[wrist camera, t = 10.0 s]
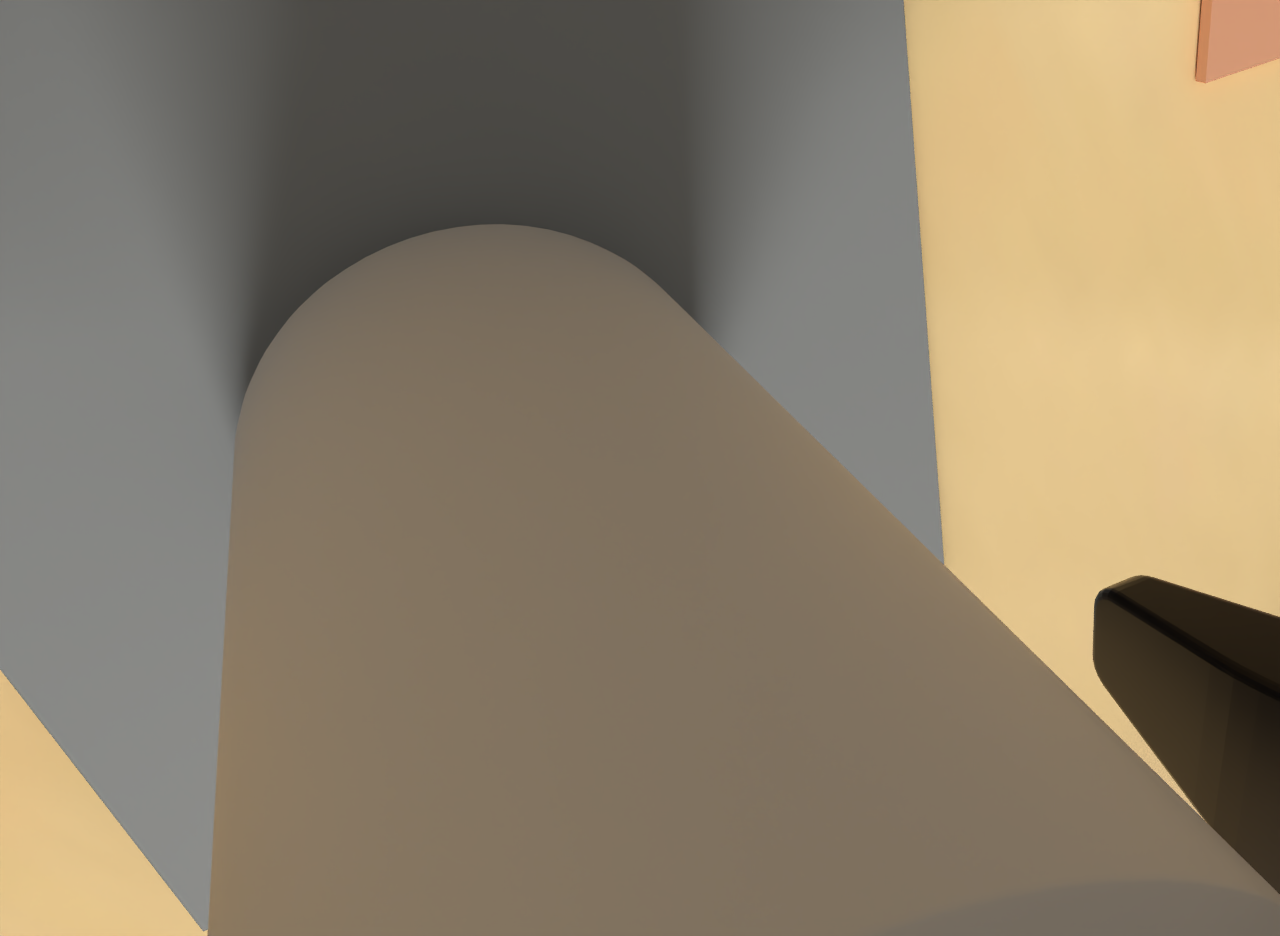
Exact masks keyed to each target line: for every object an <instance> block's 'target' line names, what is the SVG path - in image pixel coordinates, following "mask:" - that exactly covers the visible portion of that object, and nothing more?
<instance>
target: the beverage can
mask: <svg viewBox="0 0 1280 936" xmlns="http://www.w3.org/2000/svg"><path fill="white" fill-rule="evenodd" d="M208 936H1280V894H1279V893H1278V892H1277V891H1276V890H1275V889H1274V888H1273V887H1272V886H1271V885H1270V884H1269V883H1268V882H1267V881H1266V880H1265V879H1264V878H1263V877H1262V876H1261V875H1259V874H1258V873H1257V872H1256V871H1255V870H1254V869H1253V868H1252V867H1251V866H1250V865H1249V864H1248V863H1247V862H1246V861H1245V860H1244V859H1243V858H1242V857H1241V856H1240V855H1239V854H1238V853H1237V852H1236V851H1235V850H1234V849H1233V848H1232V847H1231V846H1230V845H1229V844H1228V843H1227V842H1226V841H1225V840H1224V839H1223V838H1222V837H1221V836H1220V835H1219V834H1218V833H1217V832H1216V831H1215V830H1214V829H1213V828H1212V827H1211V826H1210V825H1209V824H1208V823H1206V822H1205V821H1204V820H1203V819H1202V818H1201V817H1200V816H1199V815H1198V814H1197V813H1196V812H1195V811H1194V810H1193V809H1192V808H1191V807H1190V806H1189V805H1188V804H1187V803H1186V802H1185V801H1184V800H1183V799H1182V798H1181V797H1180V796H1179V795H1178V794H1177V793H1176V792H1175V791H1174V790H1173V789H1172V788H1171V787H1170V786H1169V785H1168V784H1167V783H1166V782H1165V781H1164V780H1163V779H1162V778H1161V777H1160V776H1159V775H1158V774H1157V773H1156V772H1155V771H1153V770H1152V769H1151V768H1150V767H1149V766H1148V765H1147V764H1146V763H1145V762H1144V761H1143V760H1142V759H1141V758H1140V757H1139V756H1138V755H1137V754H1136V753H1135V752H1134V751H1133V750H1132V749H1131V748H1130V747H1129V746H1128V745H1127V744H1126V743H1125V742H1124V741H1123V740H1122V739H1121V738H1120V737H1119V736H1118V735H1117V734H1116V733H1115V732H1114V731H1113V730H1112V729H1111V728H1110V727H1109V726H1108V725H1107V724H1106V723H1105V722H1104V721H1103V720H1102V719H1100V718H1099V717H1098V716H1097V715H1096V714H1095V713H1094V712H1093V711H1092V710H1091V709H1090V708H1089V707H1088V706H1087V705H1086V704H1085V703H1084V702H1083V701H1082V700H1081V699H1080V698H1079V697H1078V696H1077V695H1076V694H1075V693H1074V692H1073V691H1072V690H1071V689H1070V688H1069V687H1068V686H1067V685H1066V684H1065V683H1064V682H1063V681H1062V680H1061V679H1060V678H1059V677H1058V676H1057V675H1056V674H1055V673H1054V672H1053V671H1052V670H1051V669H1050V668H1049V667H1047V666H1046V665H1045V664H1044V663H1043V662H1042V661H1041V660H1040V659H1039V658H1038V657H1037V656H1036V655H1035V654H1034V653H1033V652H1032V651H1031V650H1030V649H1029V648H1028V647H1027V646H1026V645H1025V644H1024V643H1023V642H1022V641H1021V640H1020V639H1019V638H1018V637H1017V636H1016V635H1015V634H1014V633H1013V632H1012V631H1011V630H1010V629H1009V628H1008V627H1007V626H1006V625H1005V624H1004V623H1003V622H1002V621H1001V620H1000V619H999V618H998V617H997V616H996V615H994V614H993V613H992V612H991V611H990V610H989V609H988V608H987V607H986V606H985V605H984V604H983V603H982V602H981V601H980V600H979V599H978V598H977V597H976V596H975V595H974V594H973V593H972V592H971V591H970V590H969V589H968V588H967V587H966V586H965V585H964V584H963V583H962V582H961V581H960V580H959V579H958V578H957V577H956V576H955V575H954V574H953V573H952V572H951V571H950V570H949V569H948V568H947V567H946V566H945V565H944V564H943V563H941V562H940V561H939V560H938V559H937V558H936V557H935V556H934V555H933V554H932V553H931V552H930V551H929V550H928V549H927V548H926V547H925V546H924V545H923V544H922V543H921V542H920V541H919V540H918V539H917V538H916V537H915V536H914V535H913V534H912V533H911V532H910V531H909V530H908V529H907V528H906V527H905V526H904V525H903V524H902V523H901V522H900V521H899V520H898V519H897V518H896V517H895V516H894V515H893V514H892V513H891V512H890V511H888V510H887V509H886V508H885V507H884V506H883V505H882V504H881V503H880V502H879V501H878V500H877V499H876V498H875V497H874V496H873V495H872V494H871V493H870V492H869V491H868V490H867V489H866V488H865V487H864V486H863V485H862V484H861V483H860V482H859V481H858V480H857V479H856V478H855V477H854V476H853V475H852V474H851V473H850V472H849V471H848V470H847V469H846V468H845V467H844V466H843V465H842V464H841V463H840V462H839V461H838V460H837V459H835V458H834V457H833V456H832V455H831V454H830V453H829V452H828V451H827V450H826V449H825V448H824V447H823V446H822V445H821V444H820V443H819V442H818V441H817V440H816V439H815V438H814V437H813V436H812V435H811V434H810V433H809V432H808V431H807V430H806V429H805V428H804V427H803V426H802V425H801V424H800V423H799V422H798V421H797V420H796V419H795V418H794V417H793V416H792V415H791V414H790V413H789V412H788V411H787V410H786V409H785V408H784V407H782V406H781V405H780V404H779V403H778V402H777V401H776V400H775V399H774V398H773V397H772V396H771V395H770V394H769V393H768V392H767V391H766V390H765V389H764V388H763V387H762V386H761V385H760V384H759V383H758V382H757V381H756V380H755V379H754V378H753V377H752V376H751V375H750V374H749V373H748V372H747V371H746V370H745V369H744V368H743V367H742V366H741V365H740V364H739V363H738V362H737V361H736V360H735V359H734V358H733V357H732V356H731V355H729V354H728V353H727V352H726V351H725V350H724V349H723V348H722V347H721V346H720V345H719V344H718V343H717V342H716V341H715V340H714V339H713V338H712V337H711V336H710V335H709V334H708V333H707V332H706V331H705V330H704V329H703V328H702V327H701V326H700V325H699V324H698V323H697V322H696V321H695V320H694V319H693V318H692V317H691V316H690V315H689V314H688V313H687V312H686V311H685V310H684V309H683V308H682V307H681V306H680V305H679V304H677V303H676V302H675V301H674V300H673V299H672V298H671V297H670V296H669V295H668V294H667V293H666V292H665V291H664V290H663V289H662V288H661V287H660V286H659V285H658V284H657V283H656V282H654V281H653V280H652V279H651V278H650V277H648V276H647V275H646V274H645V273H643V272H642V271H641V270H640V269H638V268H637V267H636V266H634V265H633V264H631V263H630V262H628V261H627V260H625V259H623V258H621V257H619V256H618V255H616V254H614V253H612V252H610V251H608V250H606V249H604V248H602V247H599V246H597V245H595V244H593V243H591V242H588V241H585V240H583V239H580V238H577V237H574V236H571V235H568V234H564V233H560V232H556V231H552V230H549V229H543V228H536V227H530V226H521V225H507V224H487V225H472V226H462V227H454V228H449V229H444V230H439V231H433V232H430V233H426V234H423V235H419V236H416V237H412V238H409V239H406V240H404V241H401V242H398V243H396V244H393V245H391V246H388V247H386V248H384V249H382V250H380V251H377V252H375V253H373V254H371V255H369V256H367V257H365V258H363V259H362V260H360V261H358V262H357V263H355V264H353V265H352V266H350V267H348V268H347V269H345V270H344V271H342V272H341V273H339V274H338V275H336V276H335V277H333V278H332V279H331V280H329V281H328V282H326V283H325V284H324V285H323V286H322V287H320V288H319V289H318V290H317V291H316V292H315V293H313V294H312V295H311V296H310V297H309V298H308V299H307V300H306V301H305V302H304V303H303V304H302V305H301V306H300V307H299V308H298V309H297V310H296V311H295V312H294V313H293V314H292V315H291V317H290V318H289V319H288V320H287V322H286V323H285V324H284V326H283V327H282V328H281V329H280V331H279V332H278V333H277V335H276V336H275V338H274V339H273V341H272V342H271V344H270V345H269V347H268V348H267V349H266V351H265V353H264V355H263V356H262V358H261V360H260V362H259V364H258V366H257V368H256V370H255V373H254V375H253V377H252V379H251V381H250V384H249V386H248V388H247V391H246V393H245V397H244V400H243V403H242V407H241V412H240V416H239V420H238V424H237V429H236V435H235V446H234V464H233V482H232V500H231V519H230V537H229V555H228V573H227V592H226V610H225V628H224V646H223V665H222V683H221V701H220V719H219V738H218V756H217V774H216V792H215V811H214V829H213V847H212V865H211V884H210V902H209V920H208Z"/></svg>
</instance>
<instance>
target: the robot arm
mask: <svg viewBox="0 0 1280 936" xmlns="http://www.w3.org/2000/svg"><path fill="white" fill-rule="evenodd" d="M1093 662H1094V666H1095V669H1096V672H1097V674H1098V676H1099V678H1100V680H1101V682H1102V684H1103V685H1104V687H1105V688H1106V689H1107V691H1108V692H1109V693H1110V695H1111V696H1112V697H1113V699H1114V700H1115V701H1116V703H1117V704H1118V705H1119V707H1120V708H1121V709H1122V711H1123V712H1124V713H1125V715H1126V716H1127V717H1128V719H1129V720H1130V722H1131V723H1132V724H1133V726H1134V727H1135V728H1136V730H1137V731H1138V732H1139V734H1140V735H1141V736H1142V738H1143V739H1144V740H1145V742H1146V743H1147V744H1148V746H1149V747H1150V748H1151V750H1152V751H1153V752H1154V754H1155V755H1156V756H1157V758H1158V759H1159V760H1160V762H1161V763H1162V764H1163V766H1164V767H1165V768H1166V770H1167V771H1168V772H1169V774H1170V775H1171V776H1172V778H1173V779H1174V780H1175V782H1176V783H1177V784H1178V786H1179V787H1180V789H1181V790H1182V791H1183V793H1184V794H1185V795H1186V797H1187V798H1188V799H1189V801H1190V802H1191V803H1192V805H1193V806H1194V807H1195V808H1196V810H1197V811H1198V812H1199V814H1200V815H1201V816H1202V817H1203V819H1204V820H1205V821H1206V822H1207V823H1208V824H1209V825H1210V826H1211V827H1212V828H1213V829H1214V830H1215V831H1216V832H1217V833H1218V834H1219V835H1220V836H1221V837H1222V838H1223V839H1224V840H1225V841H1226V842H1227V843H1228V844H1229V845H1230V846H1231V847H1232V848H1233V849H1234V850H1235V851H1236V852H1237V853H1238V854H1239V855H1240V856H1241V857H1242V858H1243V859H1244V860H1245V861H1246V862H1247V863H1248V864H1249V865H1250V866H1251V867H1252V868H1253V869H1254V870H1255V871H1256V872H1257V873H1258V874H1259V875H1261V876H1262V877H1263V878H1264V879H1265V880H1266V881H1267V882H1268V883H1269V884H1270V885H1271V886H1272V887H1273V888H1274V889H1275V890H1276V891H1277V892H1278V893H1279V894H1280V617H1278V616H1275V615H1272V614H1269V613H1266V612H1262V611H1259V610H1256V609H1253V608H1250V607H1246V606H1243V605H1240V604H1237V603H1234V602H1231V601H1227V600H1224V599H1221V598H1218V597H1215V596H1211V595H1208V594H1205V593H1202V592H1199V591H1196V590H1192V589H1189V588H1186V587H1183V586H1180V585H1176V584H1173V583H1170V582H1167V581H1164V580H1161V579H1157V578H1154V577H1150V576H1143V575H1140V576H1134V577H1131V578H1128V579H1126V580H1123V581H1121V582H1119V583H1116V584H1114V585H1111V586H1109V587H1107V588H1104V589H1103V590H1101V591H1100V592H1099V593H1098V595H1097V597H1096V599H1095V603H1094V630H1093Z"/></svg>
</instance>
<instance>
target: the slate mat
mask: <svg viewBox="0 0 1280 936" xmlns="http://www.w3.org/2000/svg"><path fill="white" fill-rule="evenodd" d="M487 224H507V225H521V226H530V227H536V228H543V229H549V230H552V231H556V232H560V233H564V234H568V235H571V236H574V237H577V238H580V239H583V240H585V241H588V242H591V243H593V244H595V245H597V246H599V247H602V248H604V249H606V250H608V251H610V252H612V253H614V254H616V255H618V256H619V257H621V258H623V259H625V260H627V261H628V262H630V263H631V264H633V265H634V266H636V267H637V268H638V269H640V270H641V271H642V272H643V273H645V274H646V275H647V276H648V277H650V278H651V279H652V280H653V281H654V282H656V283H657V284H658V285H659V286H660V287H661V288H662V289H663V290H664V291H665V292H666V293H667V294H668V295H669V296H670V297H671V298H672V299H673V300H674V301H675V302H676V303H677V304H679V305H680V306H681V307H682V308H683V309H684V310H685V311H686V312H687V313H688V314H689V315H690V316H691V317H692V318H693V319H694V320H695V321H696V322H697V323H698V324H699V325H700V326H701V327H702V328H703V329H704V330H705V331H706V332H707V333H708V334H709V335H710V336H711V337H712V338H713V339H714V340H715V341H716V342H717V343H718V344H719V345H720V346H721V347H722V348H723V349H724V350H725V351H726V352H727V353H728V354H729V355H731V356H732V357H733V358H734V359H735V360H736V361H737V362H738V363H739V364H740V365H741V366H742V367H743V368H744V369H745V370H746V371H747V372H748V373H749V374H750V375H751V376H752V377H753V378H754V379H755V380H756V381H757V382H758V383H759V384H760V385H761V386H762V387H763V388H764V389H765V390H766V391H767V392H768V393H769V394H770V395H771V396H772V397H773V398H774V399H775V400H776V401H777V402H778V403H779V404H780V405H781V406H782V407H784V408H785V409H786V410H787V411H788V412H789V413H790V414H791V415H792V416H793V417H794V418H795V419H796V420H797V421H798V422H799V423H800V424H801V425H802V426H803V427H804V428H805V429H806V430H807V431H808V432H809V433H810V434H811V435H812V436H813V437H814V438H815V439H816V440H817V441H818V442H819V443H820V444H821V445H822V446H823V447H824V448H825V449H826V450H827V451H828V452H829V453H830V454H831V455H832V456H833V457H834V458H835V459H837V460H838V461H839V462H840V463H841V464H842V465H843V466H844V467H845V468H846V469H847V470H848V471H849V472H850V473H851V474H852V475H853V476H854V477H855V478H856V479H857V480H858V481H859V482H860V483H861V484H862V485H863V486H864V487H865V488H866V489H867V490H868V491H869V492H870V493H871V494H872V495H873V496H874V497H875V498H876V499H877V500H878V501H879V502H880V503H881V504H882V505H883V506H884V507H885V508H886V509H887V510H888V511H890V512H891V513H892V514H893V515H894V516H895V517H896V518H897V519H898V520H899V521H900V522H901V523H902V524H903V525H904V526H905V527H906V528H907V529H908V530H909V531H910V532H911V533H912V534H913V535H914V536H915V537H916V538H917V539H918V540H919V541H920V542H921V543H922V544H923V545H924V546H925V547H926V548H927V549H928V550H929V551H930V552H931V553H932V554H933V555H934V556H935V557H936V558H937V559H938V560H939V561H940V562H941V563H943V564H944V557H943V544H942V530H941V516H940V502H939V488H938V474H937V460H936V446H935V432H934V419H933V405H932V391H931V377H930V363H929V349H928V335H927V321H926V307H925V293H924V280H923V266H922V252H921V238H920V224H919V210H918V196H917V182H916V168H915V154H914V141H913V127H912V113H911V99H910V85H909V71H908V57H907V43H906V29H905V15H904V2H903V0H0V670H1V671H2V672H3V674H4V675H5V676H6V677H7V679H8V680H9V681H10V683H11V684H12V685H13V686H14V688H15V689H16V690H17V692H18V693H19V694H20V696H21V697H22V698H23V699H24V701H25V702H26V703H27V705H28V706H29V707H30V708H31V710H32V711H33V712H34V714H35V715H36V716H37V717H38V719H39V720H40V721H41V723H42V724H43V725H44V726H45V728H46V729H47V730H48V732H49V733H50V734H51V736H52V737H53V738H54V739H55V741H56V742H57V743H58V745H59V746H60V747H61V748H62V750H63V751H64V752H65V754H66V755H67V756H68V757H69V759H70V760H71V761H72V763H73V764H74V765H75V766H76V768H77V769H78V770H79V772H80V773H81V774H82V776H83V777H84V778H85V779H86V781H87V782H88V783H89V785H90V786H91V787H92V788H93V790H94V791H95V792H96V794H97V795H98V796H99V797H100V799H101V800H102V801H103V803H104V804H105V805H106V806H107V808H108V809H109V810H110V812H111V813H112V814H113V816H114V817H115V818H116V819H117V821H118V822H119V823H120V825H121V826H122V827H123V828H124V830H125V831H126V832H127V834H128V835H129V836H130V837H131V839H132V840H133V841H134V843H135V844H136V845H137V846H138V848H139V849H140V850H141V852H142V853H143V854H144V856H145V857H146V858H147V859H148V861H149V862H150V863H151V865H152V866H153V867H154V868H155V870H156V871H157V872H158V874H159V875H160V876H161V877H162V879H163V880H164V881H165V883H166V884H167V885H168V886H169V888H170V889H171V890H172V892H173V893H174V894H175V896H176V897H177V898H178V899H179V901H180V902H181V903H182V905H183V906H184V907H185V908H186V910H187V911H188V912H189V914H190V915H191V916H192V917H193V919H194V920H195V921H196V923H197V924H198V925H199V926H200V928H201V929H202V930H203V931H205V930H208V920H209V902H210V884H211V865H212V847H213V829H214V811H215V792H216V774H217V756H218V738H219V719H220V701H221V683H222V665H223V646H224V628H225V610H226V592H227V573H228V555H229V537H230V519H231V500H232V482H233V464H234V446H235V435H236V429H237V424H238V420H239V416H240V412H241V407H242V403H243V400H244V397H245V393H246V391H247V388H248V386H249V384H250V381H251V379H252V377H253V375H254V373H255V370H256V368H257V366H258V364H259V362H260V360H261V358H262V356H263V355H264V353H265V351H266V349H267V348H268V347H269V345H270V344H271V342H272V341H273V339H274V338H275V336H276V335H277V333H278V332H279V331H280V329H281V328H282V327H283V326H284V324H285V323H286V322H287V320H288V319H289V318H290V317H291V315H292V314H293V313H294V312H295V311H296V310H297V309H298V308H299V307H300V306H301V305H302V304H303V303H304V302H305V301H306V300H307V299H308V298H309V297H310V296H311V295H312V294H313V293H315V292H316V291H317V290H318V289H319V288H320V287H322V286H323V285H324V284H325V283H326V282H328V281H329V280H331V279H332V278H333V277H335V276H336V275H338V274H339V273H341V272H342V271H344V270H345V269H347V268H348V267H350V266H352V265H353V264H355V263H357V262H358V261H360V260H362V259H363V258H365V257H367V256H369V255H371V254H373V253H375V252H377V251H380V250H382V249H384V248H386V247H388V246H391V245H393V244H396V243H398V242H401V241H404V240H406V239H409V238H412V237H416V236H419V235H423V234H426V233H430V232H433V231H439V230H444V229H449V228H454V227H462V226H472V225H487Z"/></svg>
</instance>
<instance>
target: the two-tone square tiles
mask: <svg viewBox="0 0 1280 936" xmlns="http://www.w3.org/2000/svg"><path fill="white" fill-rule="evenodd" d="M1279 58H1280V0H1202V5H1201V18H1200V31H1199V45H1198V58H1197V71H1196V81H1198V82H1203V83H1207V82H1210V81H1213V80H1216V79H1219V78H1222V77H1225V76H1228V75H1231V74H1234V73H1237V72H1240V71H1243V70H1246V69H1249V68H1252V67H1255V66H1258V65H1261V64H1264V63H1267V62H1270V61H1273V60H1276V59H1279Z"/></svg>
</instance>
